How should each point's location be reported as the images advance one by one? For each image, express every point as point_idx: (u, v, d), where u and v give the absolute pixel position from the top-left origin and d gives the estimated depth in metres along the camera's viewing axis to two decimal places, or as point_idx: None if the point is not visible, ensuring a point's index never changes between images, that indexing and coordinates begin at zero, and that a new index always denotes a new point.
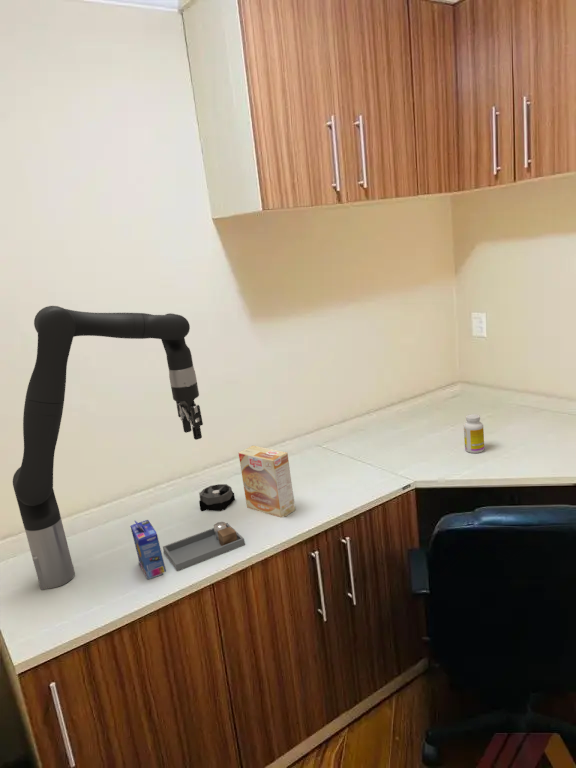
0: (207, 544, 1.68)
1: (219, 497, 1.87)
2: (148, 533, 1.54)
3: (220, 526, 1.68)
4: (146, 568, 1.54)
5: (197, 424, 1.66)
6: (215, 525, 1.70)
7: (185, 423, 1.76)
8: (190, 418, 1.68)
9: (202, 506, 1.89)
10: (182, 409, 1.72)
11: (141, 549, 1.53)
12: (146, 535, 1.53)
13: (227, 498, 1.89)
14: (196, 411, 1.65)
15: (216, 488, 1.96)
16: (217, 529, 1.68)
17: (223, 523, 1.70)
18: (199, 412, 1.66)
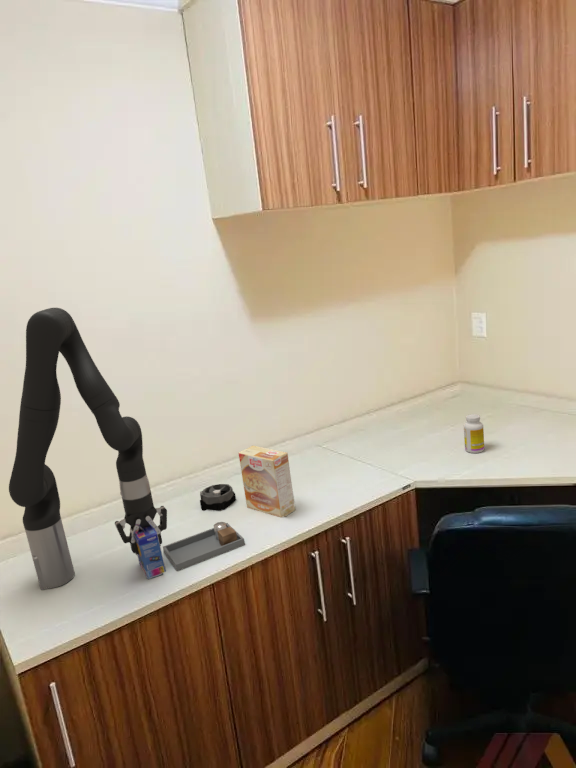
0: (207, 544, 1.68)
1: (219, 497, 1.87)
2: (148, 533, 1.54)
3: (220, 526, 1.68)
4: (146, 568, 1.54)
5: None
6: (215, 525, 1.70)
7: None
8: (156, 525, 1.57)
9: (202, 505, 1.90)
10: (139, 522, 1.55)
11: (141, 549, 1.53)
12: (146, 535, 1.53)
13: (227, 498, 1.89)
14: None
15: (218, 488, 1.96)
16: (217, 529, 1.68)
17: (223, 523, 1.70)
18: None
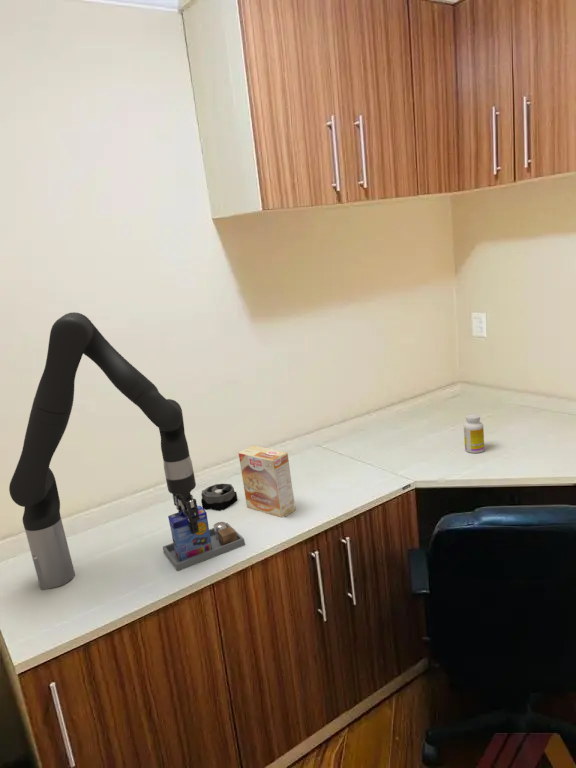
0: None
1: (218, 497, 1.87)
2: (198, 508, 1.63)
3: (220, 526, 1.68)
4: (210, 539, 1.64)
5: None
6: (215, 525, 1.70)
7: None
8: None
9: (203, 504, 1.91)
10: None
11: (207, 521, 1.62)
12: (201, 509, 1.63)
13: (227, 498, 1.88)
14: None
15: (221, 487, 1.96)
16: (217, 529, 1.68)
17: (223, 523, 1.70)
18: None
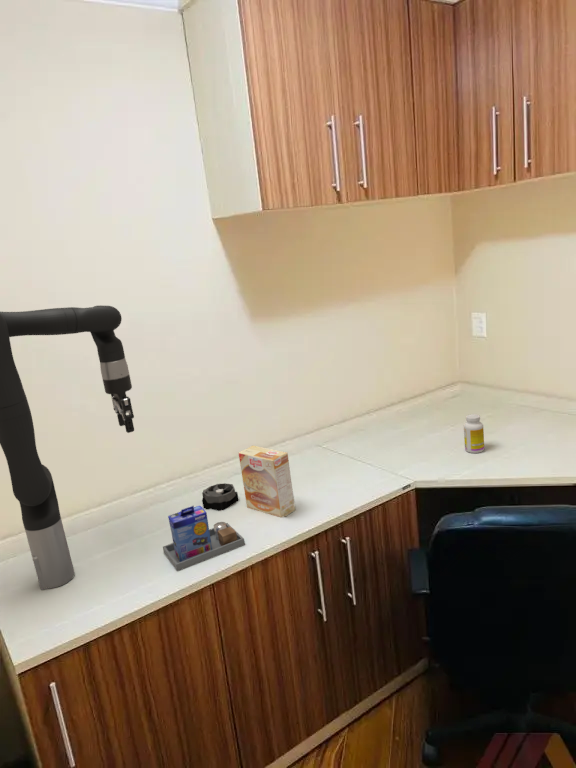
0: None
1: (218, 497, 1.87)
2: (198, 508, 1.63)
3: (220, 526, 1.68)
4: (210, 539, 1.63)
5: None
6: (215, 525, 1.70)
7: None
8: None
9: (204, 503, 1.91)
10: None
11: (207, 521, 1.62)
12: (201, 509, 1.63)
13: (227, 499, 1.88)
14: None
15: (223, 487, 1.96)
16: (217, 529, 1.68)
17: (223, 523, 1.70)
18: None
